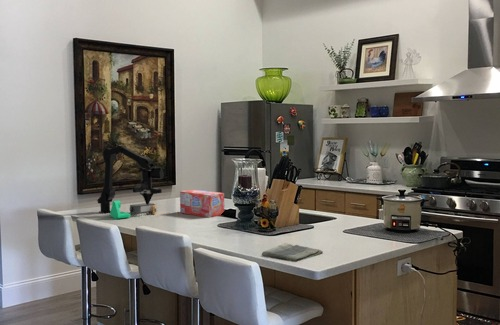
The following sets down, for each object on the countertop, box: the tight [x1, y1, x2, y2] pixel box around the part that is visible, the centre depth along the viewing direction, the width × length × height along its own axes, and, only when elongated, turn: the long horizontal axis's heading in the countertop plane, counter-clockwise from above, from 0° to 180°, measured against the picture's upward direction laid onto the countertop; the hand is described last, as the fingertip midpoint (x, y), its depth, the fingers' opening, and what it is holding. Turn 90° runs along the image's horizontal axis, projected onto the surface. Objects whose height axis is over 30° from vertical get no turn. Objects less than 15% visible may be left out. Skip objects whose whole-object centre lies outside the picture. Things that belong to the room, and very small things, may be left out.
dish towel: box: [261, 242, 324, 263], centre depth 228 cm, size 19×18×3 cm
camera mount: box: [109, 200, 131, 220], centre depth 329 cm, size 12×8×10 cm, turn 36°
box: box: [179, 189, 226, 218], centre depth 336 cm, size 27×13×14 cm, turn 46°
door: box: [152, 203, 157, 215], centre depth 343 cm, size 2×11×5 cm, turn 5°
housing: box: [129, 202, 155, 215], centre depth 347 cm, size 7×14×5 cm, turn 125°
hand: (147, 204), depth 342 cm, fingers closed
